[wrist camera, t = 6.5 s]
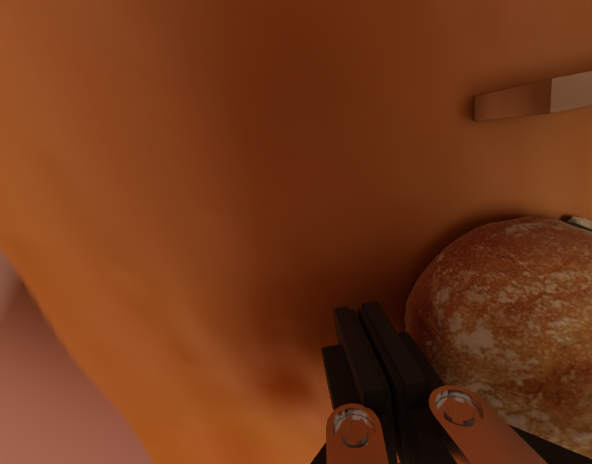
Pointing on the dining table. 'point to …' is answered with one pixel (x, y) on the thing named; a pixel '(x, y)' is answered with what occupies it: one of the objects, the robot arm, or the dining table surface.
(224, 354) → the dining table surface
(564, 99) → the open rail frame
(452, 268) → the bread roll
